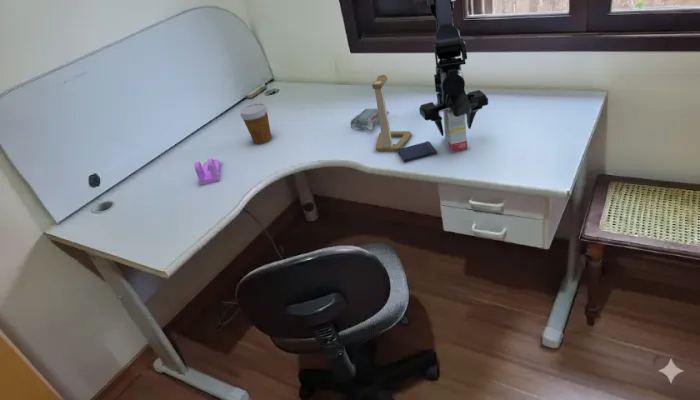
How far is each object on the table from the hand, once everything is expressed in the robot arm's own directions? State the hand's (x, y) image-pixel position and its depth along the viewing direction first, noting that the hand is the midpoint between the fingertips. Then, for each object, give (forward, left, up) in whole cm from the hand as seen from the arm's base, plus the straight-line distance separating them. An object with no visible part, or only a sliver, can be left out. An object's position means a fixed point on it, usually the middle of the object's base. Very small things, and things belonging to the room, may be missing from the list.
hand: (455, 131), depth 152 cm
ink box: (0, 0, -5) cm, 5 cm away
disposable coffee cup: (+57, -38, -5) cm, 69 cm away
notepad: (+12, -1, -4) cm, 13 cm away
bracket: (+75, -23, -4) cm, 79 cm away
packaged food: (+20, -27, -5) cm, 34 cm away
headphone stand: (+17, -11, -4) cm, 21 cm away
